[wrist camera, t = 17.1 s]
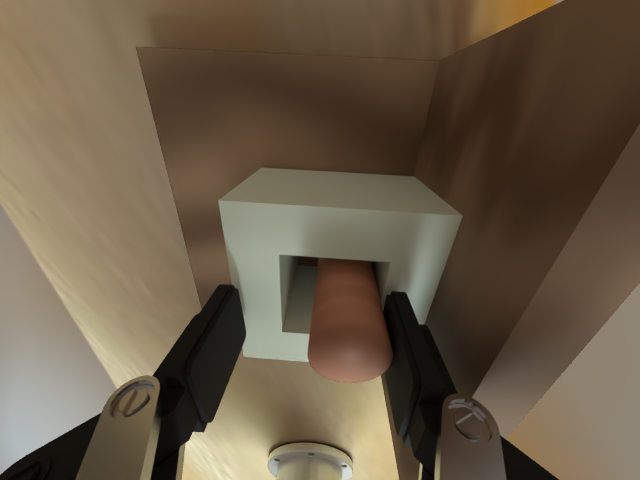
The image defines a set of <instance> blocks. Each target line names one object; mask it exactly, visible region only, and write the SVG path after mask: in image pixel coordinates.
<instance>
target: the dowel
mask: <svg viewBox="0 0 640 480" xmlns="http://www.w3.org/2000/svg"><path fill="white" fill-rule="evenodd" d="M307 357H308V361H309V363H310V365H311V366H312V368H313V369H314V370H315V371H316V372H318V373H319V374H320V375H322V376H324V377H326V378H328V379H331V380H334V381H338V382H345V383H357V382H364V381H368V380H371V379H374V378H376V377H378V376H380V375H381V374H383V373H384V372H385V371H386V370H387V369H388V368H389V367H390V365H391V363H392V360H393V351H392V346H391V342H390V338H389V334H388V330H387V326H386V321H385V317H384V313H383V309H382V305H381V301H380V296H379V292H378V288H377V284H376V280H375V276H374V271H373V267H372V263H371V261H365V260H350V259H336V258H321V257H318V266H317V274H316V283H315V292H314V300H313V309H312V317H311V326H310V335H309V343H308V352H307Z"/></svg>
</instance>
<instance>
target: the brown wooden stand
mask: <svg viewBox="0 0 640 480" xmlns="http://www.w3.org/2000/svg"><path fill="white" fill-rule="evenodd" d="M136 50H137V54H138V58H139V62H140V66H141V70H142V74H143V78H144V82H145V86H146V89H147V93H148V97H149V101H150V105H151V109H152V113H153V117H154V121H155V125H156V129H157V133H158V137H159V141H160V145H161V149H162V153H163V157H164V161H165V165H166V169H167V173H168V177H169V181H170V185H171V189H172V192H173V196H174V200H175V204H176V208H177V212H178V216H179V220H180V224H181V228H182V232H183V236H184V240H185V244H186V248H187V252H188V256H189V260H190V264H191V268H192V272H193V276H194V280H195V284H196V288H197V292H198V295H199V299H200V303H201V307H202V308H203V307H204V306H205V304H206V303H207V301H208V300H209V298H210V297H211V295H212V294H213V292H214V291H215V289H216V288H217V286H218V285H220V284H227V285H232V282H231V276H230V270H229V264H228V258H227V252H226V245H225V239H224V233H223V227H222V221H221V215H220V208H219V202H218V200H219V199H221V198H222V197H223V196H225V195H226V194H227V193H229V192H230V191H231V190H233V189H234V188H235V187H236V186H238V185H239V184H240V183H242V182H243V181H244V180H246V179H247V178H248V177H250V176H251V175H252V174H254V173H255V172H256V171H258V170H259V169H260V168H279V169H296V170H312V171H329V172H346V173H363V174H380V175H397V176H414V177H416V178H417V179H418V180H419V181H420V182H422V183H423V184H424V185H425V186H427V187H428V188H429V189H430V190H432V191H433V192H434V193H435V194H437V195H438V196H439V197H440V198H441V199H443V200H444V201H445V202H446V203H448V204H449V205H450V206H451V207H453V208H454V209H455V210H456V211H458V212H459V213H460V214H461V215H463V217H462V220H461V222H460V225H459V228H458V231H457V234H456V236H455V239H454V242H453V245H452V248H451V251H450V253H449V256H448V259H447V262H446V265H445V267H444V270H443V273H442V276H441V279H440V282H439V284H438V287H437V290H436V293H435V296H434V298H433V301H432V304H431V307H430V310H429V312H428V315H427V318H426V321H425V324H424V325H427V326H428V328H429V330H430V332H431V334H432V336H433V339H434V341H435V343H436V345H437V347H438V350H439V352H440V354H441V356H442V359H443V361H444V363H445V365H446V368H447V370H448V372H449V374H450V377H451V379H452V381H453V383H454V386H455V388H456V390H457V392H458V394H463V395H467V396H470V397H471V398H473V399H475V400H477V401H478V402H479V403H481V404H482V405H483V406H484V407H486V409H487V410H488V411H489V412H490V413H491V414H492V416H493V418H494V419H495V421H496V423H497V425H498V428H499V432H500V435H501V436H502V437H503V438H505V439H507V437H508V436H509V435H510V434H511V433H512V432H513V430H514V429H515V428H516V427H517V426H518V424H519V423H520V422H521V421H522V420H523V419H524V417H525V416H526V415H527V414H528V413H529V411H530V410H531V409H532V408H533V407H534V406H535V405H536V403H537V402H538V401H539V400H540V399H541V398H542V396H543V395H544V394H545V393H546V392H547V391H548V389H549V388H550V387H551V386H552V385H553V384H554V382H555V381H556V380H557V379H558V378H559V377H560V375H561V374H562V373H563V372H564V371H565V370H566V368H567V367H568V366H569V365H570V363H572V361H573V360H574V359H575V358H576V357H577V356H578V354H579V353H580V352H581V351H582V350H583V349H584V347H585V346H586V345H587V344H588V343H589V342H590V340H591V339H592V338H593V337H594V336H595V334H596V333H597V332H598V331H599V330H600V329H601V327H602V326H603V325H604V324H605V323H606V322H607V320H608V319H609V318H610V317H611V316H612V315H613V313H614V312H615V311H616V310H617V309H618V308H619V306H620V305H621V304H622V303H623V302H624V301H625V299H626V298H627V297H628V296H629V295H630V294H631V292H632V291H633V290H634V289H635V288H636V287H637V285H638V284H639V283H640V0H564V1H562V2H560V3H558V4H556V5H553V6H551V7H549V8H547V9H545V10H543V11H541V12H539V13H537V14H535V15H533V16H531V17H529V18H527V19H525V20H523V21H521V22H519V23H517V24H514V25H512V26H510V27H508V28H506V29H504V30H502V31H500V32H498V33H496V34H494V35H492V36H490V37H488V38H486V39H484V40H482V41H480V42H478V43H475V44H473V45H471V46H469V47H467V48H465V49H463V50H461V51H459V52H457V53H455V54H453V55H451V56H449V57H447V58H445V59H443V60H441V61H431V60H409V59H388V58H367V57H345V56H324V55H303V54H281V53H260V52H238V51H217V50H196V49H174V48H153V47H136ZM298 265H304V266H318V257H307V256H298ZM381 378H382V384H383V389H384V395H385V401H386V406H387V412H388V418H389V423H390V429H391V435H392V440H393V446H394V452H395V457H396V463H397V469H398V474H399V480H418V478H419V468H420V462H419V461H418V460H417V459H416V458H415V457H414V456H413V451H412V447H411V446H404V445H403V440H402V435H397V433H396V430H395V425H394V420H393V415H392V410H391V405H390V400H389V394H388V389H387V384H386V379H385V374H384V373H383V374H381Z"/></svg>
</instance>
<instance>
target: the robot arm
mask: <svg viewBox="0 0 640 480" xmlns="http://www.w3.org/2000/svg"><path fill="white" fill-rule="evenodd" d="M383 313H384V317H385V321H386V326H387V330H388V334H389V338H390V342H391V346H392V351H393V360H392V363H391V365H390V367H389V368H388V369H387V370H386V371H385V372H384V374H385V379H386V384H387V389H388V394H389V400H390V405H391V410H392V415H393V420H394V425H395V430H396V433H397V435H402V440H403V445H404V446H411V447H412V451H413V456H414V457H415V458H416V459H417V460H418V461H419V462H420V468H419V478H418V480H558V479H557V478H556V477H555V476H553V475H552V474H551V473H549V472H548V471H547V470H545V469H544V468H543V467H541V466H540V465H539V464H537V463H536V462H535V461H533V460H532V459H531V458H529V457H528V456H527V455H525V454H524V453H523V452H522V451H520V450H519V449H518V448H516V447H515V446H514V445H512V444H511V443H510V442H508V441H507V440H506V439H505V438H503V437H502V436H501V435H500V432H499V428H498V425H497V423H496V421H495V419H494V418H493V416H492V414H491V413H490V412H489V411H488V410H487V409H486V407H484V406H483V405H482V404H481V403H479V402H478V401H477V400H475V399H473V398H471V397H470V396H467V395H463V394H458V392H457V390H456V388H455V386H454V383H453V381H452V379H451V377H450V374H449V372H448V370H447V368H446V365H445V363H444V361H443V359H442V356H441V354H440V352H439V350H438V347H437V345H436V343H435V341H434V339H433V336H432V334H431V332H430V330H429V328H428V326H427V325H423V324H419V323H418V320H417V318H416V315H415V313H414V310H413V308H412V306H411V303H410V301H409V298H408V296H407V293H406V292H399V291H392V292H391V294H390V295H388V294H387V295H386V300H385V305H384V311H383ZM245 338H246V327H245V322H244V317H243V311H242V306H241V301H240V296H239V291H238V289H237V288H235V287H234V285H227V284H220V285H218V286H217V288H216V289H215V291H214V292H213V294H212V295H211V297H210V298H209V300H208V301H207V303H206V304H205V306H204V307H203V308H202V310H201V311H200V313H199V314H197V315H195V316H194V317H193V319H192V320H191V321H190V323H189V324H188V326H187V327H186V329H185V330H184V332H183V333H182V334H181V336H180V337H179V339H178V340H177V342H176V343H175V344H174V346H173V347H172V349H171V350H170V352H169V353H168V354H167V356H166V357H165V359H164V360H163V362H162V363H161V364H160V366H159V367H158V369H157V370H156V372H155V373H154V375H153V376H147V375H146V376H140V377H137V378H135V379H132V380H130V381H128V382H127V383H125V384H123V385H122V386H121V387H120V388H118V389H117V390H116V391H115V392H114V393H113V394H112V395H111V396H110V398H109V399H108V401H107V402H106V404H105V406H104V408H103V411H102V413H100V414H98V415H97V416H95V417H93V418H91V419H89V420H88V421H86V422H84V423H82V424H81V425H79V426H77V427H75V428H74V429H72V430H70V431H69V432H67V433H65V434H63V435H61V436H60V437H58V438H56V439H55V440H53V441H51V442H49V443H48V444H46V445H44V446H42V447H41V448H39V449H37V450H35V451H33V452H32V453H30V454H28V455H26V456H25V457H23V458H22V459H20V460H19V461H17V462H16V463H14V464H13V465H11V467H9V468H8V469H7V470H6V471H4V472H3V473H2V474H1V475H0V480H182V471H183V462H184V452H185V443H186V442H187V441H188V440H189V439H190V437H191V435H192V432H204V431H205V428H206V426H207V423H208V422H209V423H210V422H212V420H213V419H214V417H215V414H216V412H217V409H218V407H219V404H220V402H221V399H222V397H223V394H224V392H225V389H226V386H227V384H228V381H229V379H230V376H231V374H232V371H233V369H234V366H235V364H236V361H237V359H238V356H239V354H240V351H241V349H242V346H243V344H244V341H245ZM268 469H269V471H270V473H271V474H272V475H273V476H275V477H276V480H349V479H350V478H351V477H352V475H353V464H352V461H351V459H350V458H349V457H348V456H347V455H346V454H345V453H343V452H342V451H340V450H338V449H336V448H333V447H330V446H327V445H323V444H317V443H302V442H301V443H291V444H286V445H283V446H280V447H278V448H276V449H275V450H274V451H272V452H271V454H270V456H269V460H268Z"/></svg>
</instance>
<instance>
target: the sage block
mask: <svg viewBox="0 0 640 480" xmlns="http://www.w3.org/2000/svg"><path fill="white" fill-rule="evenodd" d="M218 202H219V208H220V215H221V221H222V227H223V233H224V239H225V245H226V252H227V258H228V264H229V270H230V276H231V282H232V285H234V287H235V288H237V289H238V291H239V296H240V301H241V306H242V311H243V317H244V322H245V327H246V338H245V341H244V344H243V346H242V350H243V356H244V357H251V358H264V359H276V360H289V361H301V362H309V361H308V357H307V352H308V343H309V335H310V326H311V317H312V309H313V300H314V292H315V283H316V274H317V266H304V265H298V256H307V257H321V258H336V259H350V260H365V261H371V263H372V267H373V271H374V276H375V280H376V284H377V288H378V292H379V296H380V301H381V305H382V309H383V311H384V305H385V300H386V295H387V294H388V295H390V294H391V292H392V291H399V292H406V293H407V296H408V298H409V301H410V303H411V306H412V308H413V310H414V313H415V315H416V318H417V320H418V323H419V324H423V325H424V324H425V321H426V318H427V315H428V312H429V310H430V307H431V304H432V301H433V298H434V296H435V293H436V290H437V287H438V284H439V282H440V279H441V276H442V273H443V270H444V267H445V265H446V262H447V259H448V256H449V253H450V251H451V248H452V245H453V242H454V239H455V236H456V234H457V231H458V228H459V225H460V222H461V220H462V217H463V215H461V214H460V213H459V212H458V211H456V210H455V209H454V208H453V207H451V206H450V205H449V204H448V203H446V202H445V201H444V200H443V199H441V198H440V197H439V196H438V195H437V194H435V193H434V192H433V191H432V190H430V189H429V188H428V187H427V186H425V185H424V184H423V183H422V182H420V181H419V180H418V179H417V178H416V177H414V176H397V175H380V174H363V173H346V172H329V171H312V170H296V169H279V168H260V169H259V170H258V171H256V172H255V173H254V174H252V175H251V176H250V177H248V178H247V179H246V180H244V181H243V182H242V183H240V184H239V185H238V186H236V187H235V188H234V189H233V190H231V191H230V192H229V193H227V194H226V195H225V196H223V197H222V198H221V199H219V200H218Z"/></svg>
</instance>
